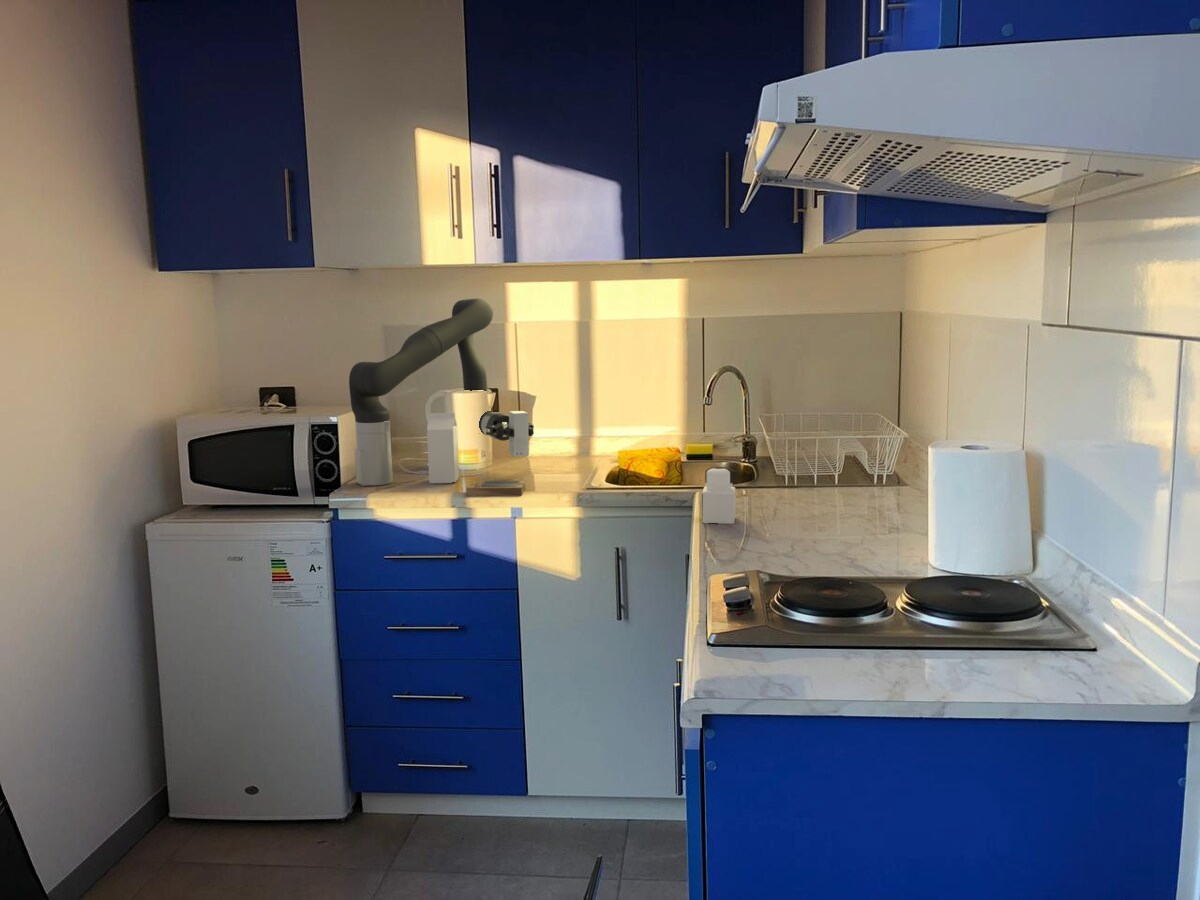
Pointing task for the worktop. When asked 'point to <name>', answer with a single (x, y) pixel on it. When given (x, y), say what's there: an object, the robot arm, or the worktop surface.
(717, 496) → the medicine bottle
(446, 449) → the milk carton
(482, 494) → the stop dock
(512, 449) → the skincare box
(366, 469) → the robot arm
